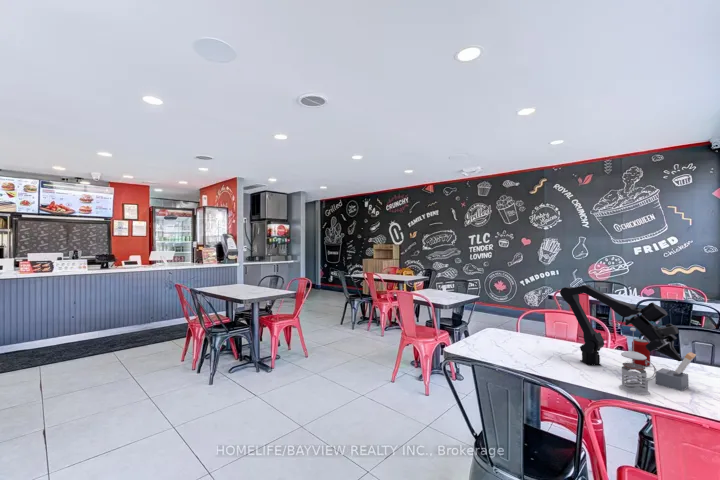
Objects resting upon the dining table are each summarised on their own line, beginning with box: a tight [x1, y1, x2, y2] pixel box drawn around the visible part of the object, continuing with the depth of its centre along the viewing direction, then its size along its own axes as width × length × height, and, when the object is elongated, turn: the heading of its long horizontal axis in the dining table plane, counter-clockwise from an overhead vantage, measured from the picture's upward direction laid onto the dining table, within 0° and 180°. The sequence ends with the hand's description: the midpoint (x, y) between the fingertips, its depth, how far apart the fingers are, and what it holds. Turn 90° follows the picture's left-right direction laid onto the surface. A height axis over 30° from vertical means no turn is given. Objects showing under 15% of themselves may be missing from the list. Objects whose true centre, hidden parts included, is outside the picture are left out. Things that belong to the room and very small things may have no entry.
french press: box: [618, 327, 657, 396], centre depth 129 cm, size 10×12×25 cm
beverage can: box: [631, 338, 651, 367], centre depth 159 cm, size 7×7×12 cm
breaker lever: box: [674, 351, 697, 374], centre depth 131 cm, size 2×5×10 cm, turn 121°
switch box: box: [654, 367, 690, 392], centre depth 134 cm, size 8×9×6 cm
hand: (680, 360), depth 132 cm, fingers closed
